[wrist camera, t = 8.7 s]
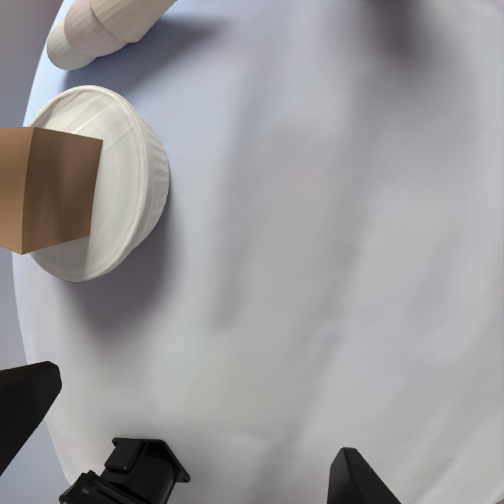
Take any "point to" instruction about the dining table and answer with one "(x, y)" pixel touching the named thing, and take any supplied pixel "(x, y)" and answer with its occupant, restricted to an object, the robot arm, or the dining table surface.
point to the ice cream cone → (101, 29)
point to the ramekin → (108, 181)
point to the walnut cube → (45, 187)
